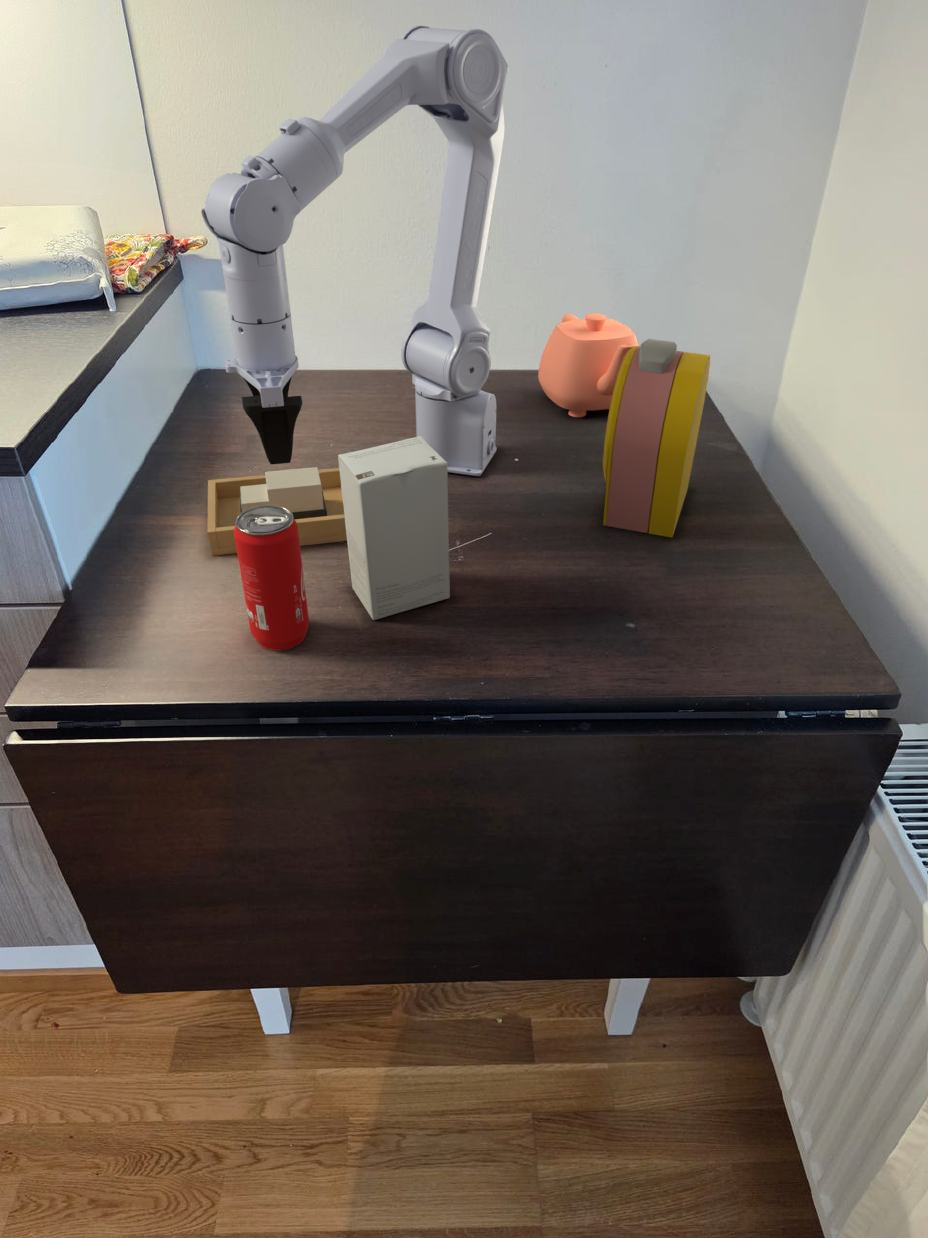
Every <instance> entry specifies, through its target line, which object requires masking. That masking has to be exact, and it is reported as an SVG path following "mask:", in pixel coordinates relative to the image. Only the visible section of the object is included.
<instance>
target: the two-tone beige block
mask: <svg viewBox="0 0 928 1238" xmlns="http://www.w3.org/2000/svg"><path fill="white" fill-rule="evenodd" d="M318 470H319V468H318V466H313V467H311V466H310V467H302V468H291V469H281V470H271V471H269V470H268V471H265V472H264V475H265V476H266V484H261V485H251V486H241V487H240V489H241V499H240V514H241V513H242V512H244V511H246V510H248V509H251V508H254V507H259V506H279V507H283V508H286V509H287V510H289V511H290V512H291V513H292V514H293V517H294V520H295V519H304V518H314V517H323V516H327V509H326V505H325V500H324V495H323V491H322V487H321V481H320V477H319V472H318Z"/></svg>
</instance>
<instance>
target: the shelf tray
mask: <svg viewBox="0 0 928 1238" xmlns="http://www.w3.org/2000/svg"><path fill="white" fill-rule="evenodd" d="M318 472H319V477H320V481H321V487H322V491H323V495H324V500H325V505H326V509H327V516H323V517H314V518H304V519H295V521H296V522H297V525H298V533H299V542H300V547H303V546H311V545H312V546H313V545H323V544H332V543H339V542H347V534H346V525H345V516H344V506H343V499H342V491H341V479H340V471H339V467H333V468H332V467H331V468H321V469H318ZM261 484H266V476H265V474H259V475H258V474H257V475H249V476H239V477H238V476H237V477H227V478H217V479H216V478H215V479H208V480H207V537H208V543H209V549H210V552H211V557H213V556H214V557H215V556H221V555H230V554H231V555H232V554H237V549H236V543H235V537H234V528H235V526H236V525H235V521H236V518H237V517H238V516H239V515H240V499H241V489H240V487H241V486H251V485H261Z"/></svg>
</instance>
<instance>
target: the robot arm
mask: <svg viewBox="0 0 928 1238" xmlns="http://www.w3.org/2000/svg"><path fill="white" fill-rule="evenodd" d="M508 69H509V64H508V62H507V60H506V58H505V57H504V55H503V53H502V52H501V50H500V48H499V46H498V44H497V42H496V40H495V39H494V37H493V36H492V35H491V34H489V33H488V32H487V31H485V30H483V29H479V28H478V29H477V28H471V29H467V30H465V29H452V28H451V29H450V28H437V27H430V26H426V25H415V26H412V27H410V28H408V29H407V30H406V31H405V32H403V34H402V35H401V37H400V38H397V39H394V40H393V41H391V42H390V43H389V44H387V46H386V48H385V51H384V53H383V55H382V56H381V58H380V59H379V60H378V61H377V62H376V63H375V64H374V65H373V66H372V67H371V68H370V69H368V71H367V72H366V73H365V74H364V75H363V76H361V78H360V79H359V80H358V81H357V82H355V84H354V85H353V86H352V87H351V88H350V89H349V90H348V91H347V92H346V93H344V95H343V96H342V97H341V98H339V100H338V101H337V102H336V103H335V104H334V105H333V106H332V107H330V109H328V111H327V112H326V113H325V114H323V116H322V117H321V118H319V120H317V119H314V118H311V117H308V116H307V117H306V116H302V117H299V118H298V119H292V118H287V119H285V120H284V121H283V122H282V123H280V124H279V126H278V129H279V131H280V133H281V134H279V135H278V136H277V137H276V138H275V139H274V140H272V141H271V142H270V143H269V144H267V146H266V147H264V148H263V149H262V150H261V151H260V152H258V153H257V154H256V155H255V156H251V155H247V156H246V157H245V158H244V159H243V160H241V166H242V167H241V170H240V173H238V172H232V173H225V174H222V175H220V176H218V177H217V178H216V179H215V180H214V181H213V182H212V183H211V184H210V185H209V187H208V190H207V191H208V194H207V195H206V196H205V201H204V208H202V209H201V211H200V212H201V216H202V220H203V222H204V224H205V226H206V227H207V229H208V230H209V232H210V233H211V234H212V235H213V236H214V237H215V238H216V240H217V242H218V247H219V253H220V259H221V268H222V274H223V275H222V276H223V281H224V287H225V293H226V299H227V300H226V301H227V307H228V313H229V320H230V326H231V332H232V339H233V346H234V353H235V357H236V358H232V359H226V360H225V361H224V367H225V372H226V373H228V374H238V375H239V376H241V377H242V378H243V380H244V381H245V383H246V384H247V386H248V388H249V391H250V392H251V394H252V395H249V396H242V397H241V405H242V409H243V411H244V413H245V414H246V415H247V416H248V418H249V419H250V421H251V422H252V424H253V425H254V428H255V429H256V431H257V433H258V436H259V438H260V441H261V444H262V448H263V450H264V454H265V456H266V458H267V460H268V462H269V464H270V465H271V466H272V465H280V464H281V465H283V464H290V463H291V461H292V457H293V448H294V447H293V446H294V433H295V428H296V427H295V426H296V423H297V420H298V416H299V414H300V412H301V410H302V407H303V397H302V396H301V395H293V396H289V389H290V385H291V382H292V378H293V376H294V374H295V373H296V372H297V370H298V369H299V358H298V356H297V354H296V349H295V341H294V340H295V339H294V330H293V322H292V313H291V303H290V295H289V287H288V278H287V268H286V260H285V259H286V258H285V251H284V244H286V243H288V240H289V238H290V236H291V234H292V232H293V227H294V222H295V218H296V217H298V215H299V214H300V213H301V212H302V211H303V210H304V209H306V207H307V206H308V205H310V204H311V203H312V202H313V201H314V200H315V199H316V198H317V197H318V196H319V195H320V194H322V193H323V192H324V191H325V190H326V189H327V188H329V187H330V186H331V185H332V184H333V183H335V181H336V180H337V179H338V178H340V177H341V176H342V174H343V171H344V161H345V160H344V157H345V154H346V153H347V152H348V151H349V150H351V149H352V148H354V147H355V146H356V145H358V144H359V143H360V142H361V141H363V140H364V139H365V138H366V137H367V136H369V135H370V134H371V133H373V132H374V131H375V130H376V129H378V128H379V127H381V126H382V125H383V124H385V123H386V122H387V121H388V120H390V119H391V118H393V116H394V115H396V114H397V113H398V112H400V111H401V110H402V109H404V108H406V106H418V107H419V108H420V109H422V110H423V111H424V112H426V113H427V114H428V115H429V116H430V117H432V118H433V120H434V121H435V123H436V124H437V125H438V127H439V128H440V130H441V132H442V133H443V135H444V137H445V138H446V139H447V141H448V149H447V158H446V165H445V173H444V180H443V188H442V194H441V195H442V196H441V202H440V209H439V217H438V222H437V223H438V225H437V231H436V238H435V245H434V246H435V247H434V254H433V260H432V268H431V275H430V283H429V289H428V297H427V299H426V300H425V301H424V302H423V303H421V304H420V305H419V306H418V307H417V308H416V309H415V310H414V311H413V312H412V316H411V323H410V326H409V329H408V331H407V333H406V335H405V337H404V338H403V341H402V344H401V349H400V350H401V352H400V357H401V362H402V364H403V366H404V368H405V369H406V371H407V372H408V373H410V374H411V382H412V384H413V385H414V389H415V390H414V391H415V392H414V395H415V397H414V399H415V427H416V428H415V430H416V431H415V432H416V433H415V434H416V436H415V437H418V436H421V437H422V438H423V439H424V440H425V441H426V442H427V443H428V444H429V445H430V446H431V448H432V449H433V450H435V451H436V452H437V453H438V454H439V455H440V456H441V457H442V458H443V459H444V460H445V461H446V462H447V463H448V468H447V473H452V474H459V475H465V476H473V477H480V476H481V475H482V474H483V472H484V471H485V469H486V467H487V466H488V464H489V463H490V462H491V460H492V458H493V457H494V455H495V454H496V452H497V448H498V447H497V446H496V439H497V437H496V436H497V435H496V434H497V398H496V395H495V394H494V393H490V392H487V391H484V390H482V388H483V386H485V384H486V382H487V380H488V377H489V375H490V372H491V364H492V362H491V354H490V350H489V347H490V345H489V343H490V337H491V330H490V328H489V326H488V325H487V323H486V322H485V320H484V318H483V315H481V313H480V311H479V309H478V301H479V295H480V287H481V282H482V277H483V269H484V264H485V257H486V252H487V251H486V250H487V244H488V239H489V234H490V233H489V232H490V225H491V220H492V213H493V208H494V201H495V196H496V190H497V183H498V177H499V170H500V164H501V159H502V152H503V146H504V140H505V131H506V123H505V113H504V103H503V102H504V101H503V100H504V94H505V88H506V81H507V76H508Z"/></svg>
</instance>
